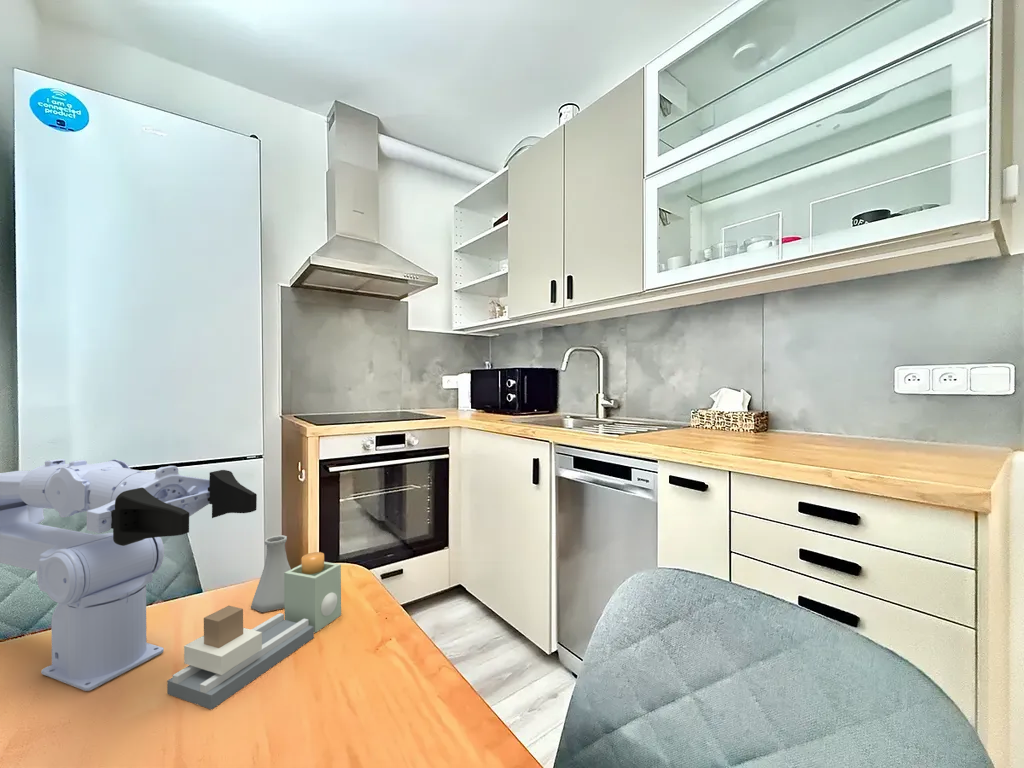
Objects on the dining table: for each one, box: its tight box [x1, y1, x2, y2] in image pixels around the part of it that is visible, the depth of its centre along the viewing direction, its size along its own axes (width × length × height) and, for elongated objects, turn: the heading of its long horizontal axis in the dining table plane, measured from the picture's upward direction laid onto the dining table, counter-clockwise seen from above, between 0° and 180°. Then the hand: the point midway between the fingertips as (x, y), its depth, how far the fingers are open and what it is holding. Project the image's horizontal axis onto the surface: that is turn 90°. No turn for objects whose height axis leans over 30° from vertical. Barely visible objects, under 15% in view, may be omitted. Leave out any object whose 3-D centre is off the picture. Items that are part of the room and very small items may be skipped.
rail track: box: [166, 612, 315, 710], centre depth 54 cm, size 7×14×2 cm, turn 160°
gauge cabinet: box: [284, 561, 342, 634], centre depth 64 cm, size 6×5×8 cm
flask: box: [250, 534, 291, 613], centre depth 70 cm, size 7×7×10 cm
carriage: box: [183, 605, 262, 675], centre depth 51 cm, size 6×5×5 cm
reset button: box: [301, 551, 325, 574], centre depth 64 cm, size 3×3×2 cm
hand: (222, 512), depth 48 cm, fingers open, 7 cm apart
